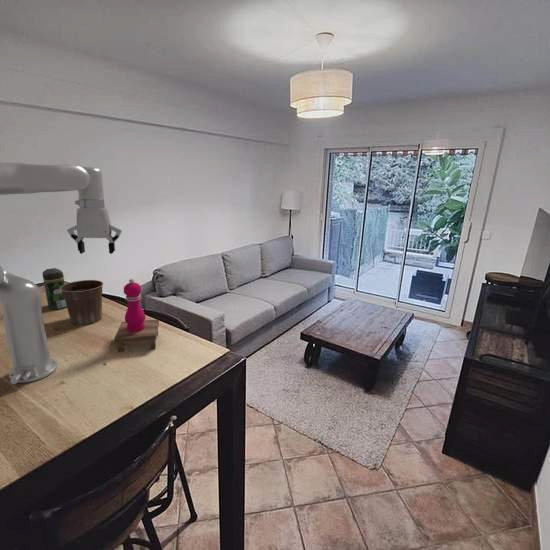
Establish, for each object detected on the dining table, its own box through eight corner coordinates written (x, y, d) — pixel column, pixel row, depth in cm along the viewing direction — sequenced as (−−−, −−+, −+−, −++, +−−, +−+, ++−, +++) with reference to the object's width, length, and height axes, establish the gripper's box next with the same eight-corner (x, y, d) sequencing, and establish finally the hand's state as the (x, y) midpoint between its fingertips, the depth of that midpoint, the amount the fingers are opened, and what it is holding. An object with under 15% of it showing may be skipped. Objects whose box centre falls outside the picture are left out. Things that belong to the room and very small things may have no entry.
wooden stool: (156, 349, 120) (155, 335, 118) (115, 353, 116) (114, 338, 115) (159, 332, 133) (158, 319, 131) (123, 335, 129) (121, 322, 128)
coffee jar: (46, 305, 155) (40, 268, 150) (65, 301, 160) (60, 266, 155) (50, 311, 149) (43, 273, 143) (70, 307, 154) (64, 270, 148)
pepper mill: (149, 325, 126) (145, 276, 120) (140, 333, 119) (135, 282, 113) (132, 323, 126) (127, 275, 121) (122, 332, 120) (116, 281, 114)
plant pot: (69, 314, 147) (64, 280, 142) (109, 310, 152) (105, 278, 148) (61, 329, 132) (55, 293, 128) (105, 325, 138) (100, 289, 133)
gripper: (59, 204, 105) (66, 255, 110) (116, 206, 109) (120, 255, 114) (68, 202, 112) (74, 250, 117) (121, 204, 116) (125, 251, 121)
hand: (97, 252), depth 115 cm, fingers open, 9 cm apart
